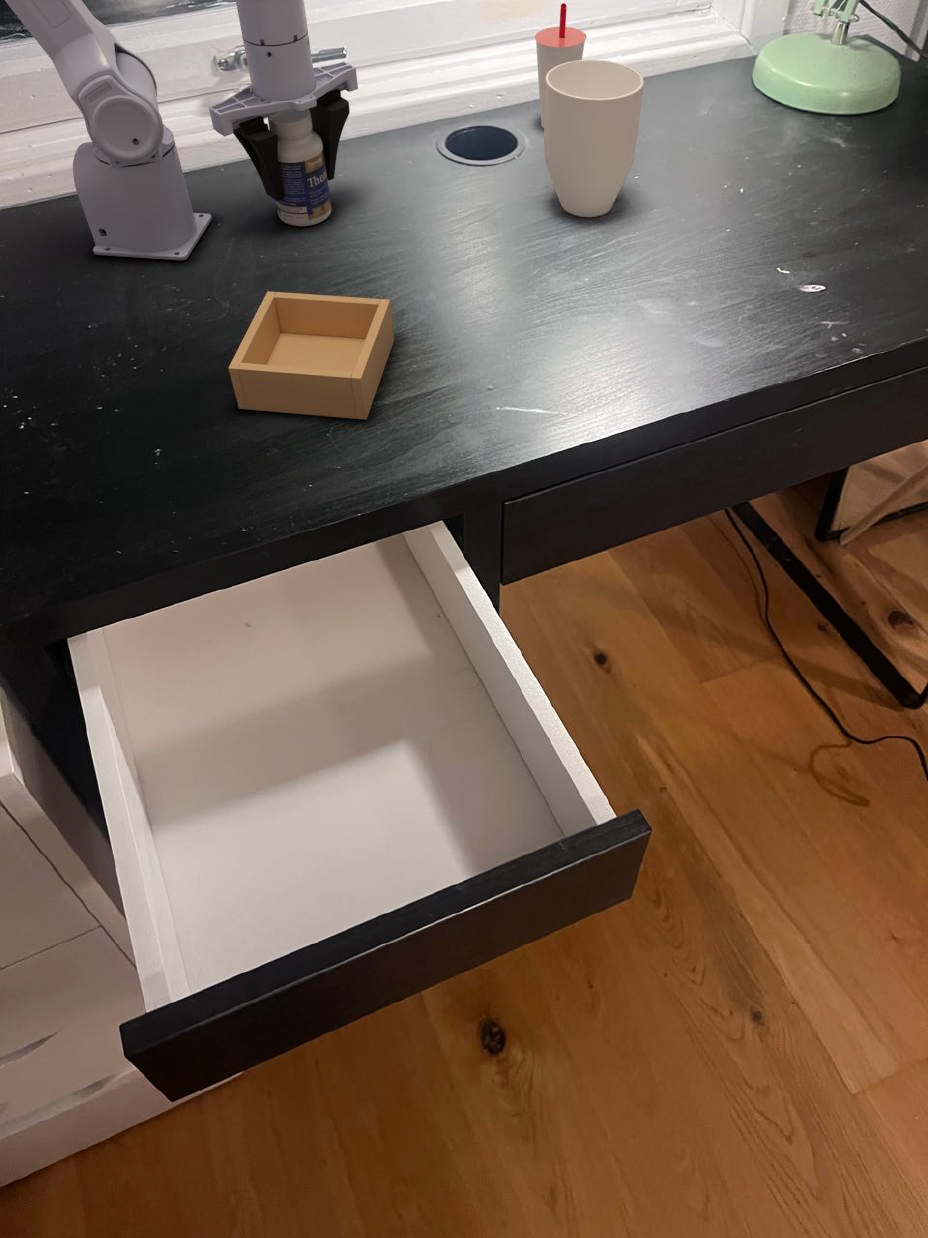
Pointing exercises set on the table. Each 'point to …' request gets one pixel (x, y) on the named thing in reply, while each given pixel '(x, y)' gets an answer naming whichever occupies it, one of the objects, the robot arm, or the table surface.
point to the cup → (556, 51)
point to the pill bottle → (300, 169)
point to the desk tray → (313, 355)
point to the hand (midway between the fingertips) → (300, 185)
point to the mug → (591, 132)
